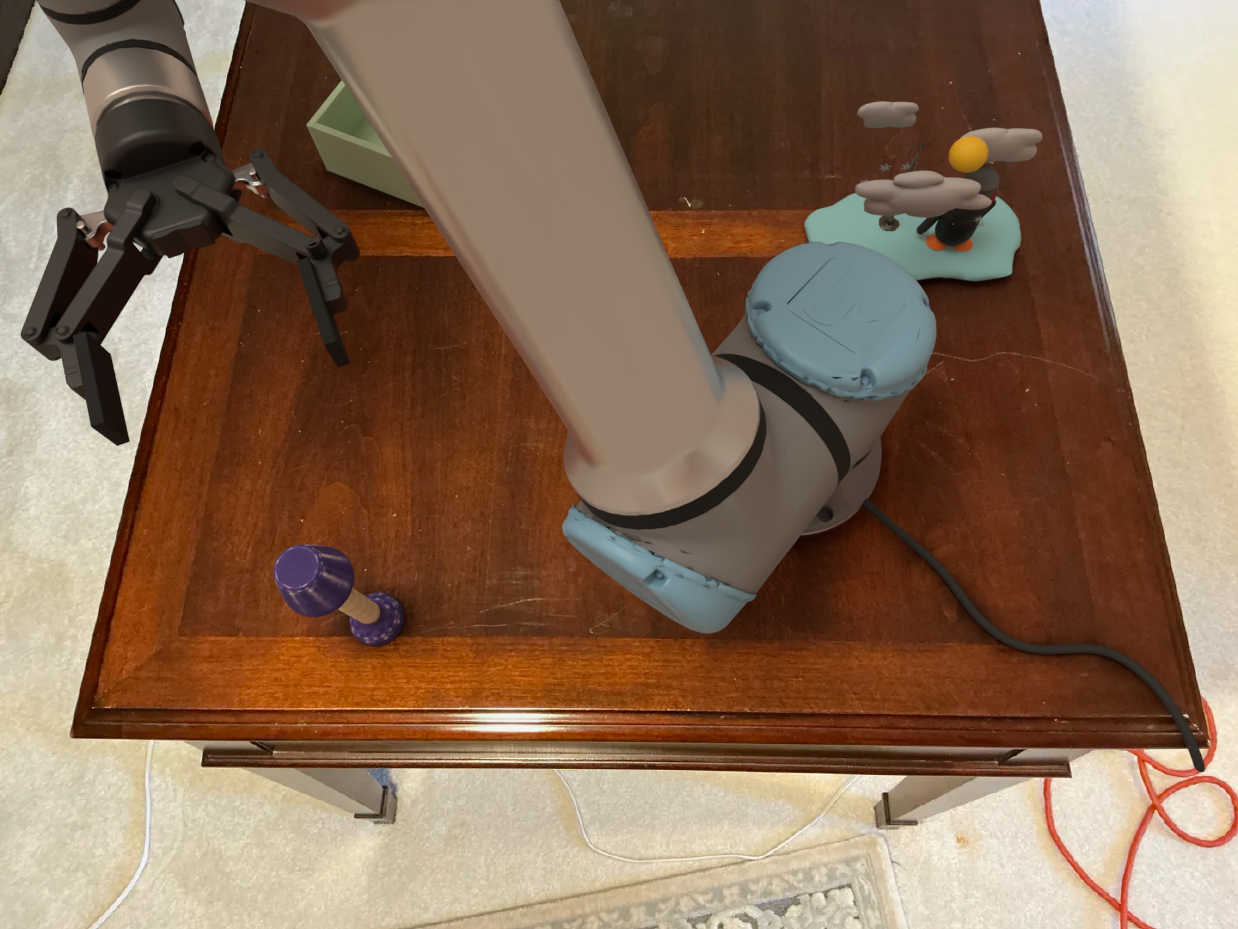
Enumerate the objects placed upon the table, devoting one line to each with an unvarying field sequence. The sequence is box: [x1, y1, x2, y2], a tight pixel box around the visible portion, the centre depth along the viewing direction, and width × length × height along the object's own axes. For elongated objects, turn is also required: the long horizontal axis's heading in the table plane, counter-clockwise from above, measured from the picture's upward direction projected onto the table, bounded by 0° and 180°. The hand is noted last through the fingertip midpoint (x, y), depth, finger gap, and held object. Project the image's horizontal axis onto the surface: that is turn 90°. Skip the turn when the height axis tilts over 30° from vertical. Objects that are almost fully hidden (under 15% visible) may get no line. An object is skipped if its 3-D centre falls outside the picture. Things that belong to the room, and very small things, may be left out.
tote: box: [306, 80, 425, 209], centre depth 83 cm, size 12×12×6 cm
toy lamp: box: [273, 543, 405, 648], centre depth 59 cm, size 5×5×17 cm
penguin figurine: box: [804, 100, 1043, 282], centre depth 73 cm, size 20×11×15 cm, turn 90°
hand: (226, 394), depth 50 cm, fingers open, 13 cm apart
